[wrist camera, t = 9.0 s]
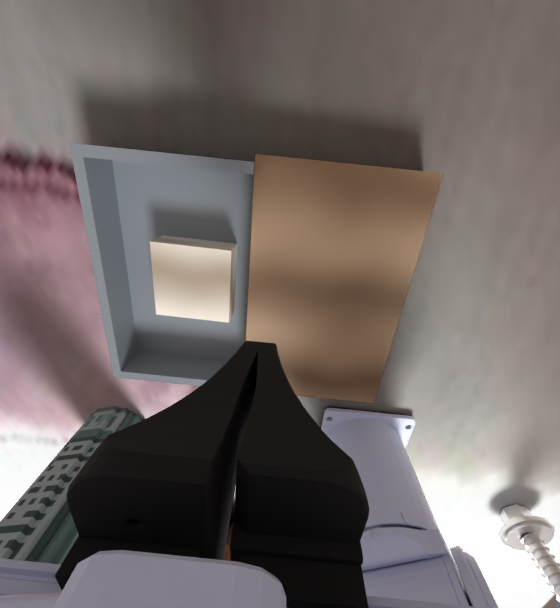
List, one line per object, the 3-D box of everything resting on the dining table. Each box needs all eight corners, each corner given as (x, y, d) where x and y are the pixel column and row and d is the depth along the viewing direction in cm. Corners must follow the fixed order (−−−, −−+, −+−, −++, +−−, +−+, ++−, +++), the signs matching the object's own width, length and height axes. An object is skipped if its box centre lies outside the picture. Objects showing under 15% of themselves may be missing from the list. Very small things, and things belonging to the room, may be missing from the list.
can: (107, 456, 29) (-56, 702, 15) (78, 412, 27) (-146, 658, 13) (162, 449, 28) (40, 702, 15) (136, 403, 26) (-37, 656, 12)
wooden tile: (234, 310, 21) (228, 322, 19) (167, 302, 21) (156, 314, 19) (237, 243, 19) (231, 250, 17) (163, 235, 19) (149, 241, 17)
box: (248, 365, 24) (242, 390, 21) (134, 353, 24) (113, 377, 21) (259, 164, 17) (253, 161, 15) (104, 148, 17) (69, 142, 15)
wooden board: (366, 381, 24) (373, 403, 22) (248, 369, 24) (243, 389, 22) (423, 173, 17) (443, 173, 15) (260, 156, 17) (255, 153, 15)
